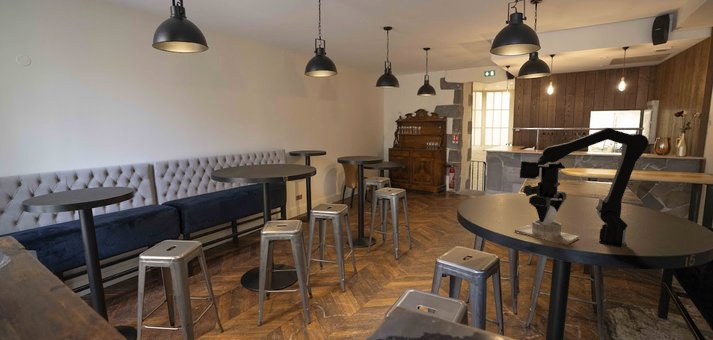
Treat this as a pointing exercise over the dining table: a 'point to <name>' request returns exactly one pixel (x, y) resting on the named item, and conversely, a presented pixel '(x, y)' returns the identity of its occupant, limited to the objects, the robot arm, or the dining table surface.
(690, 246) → the dining table surface
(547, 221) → the lightbulb
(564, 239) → the lamp base
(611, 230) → the robot arm
